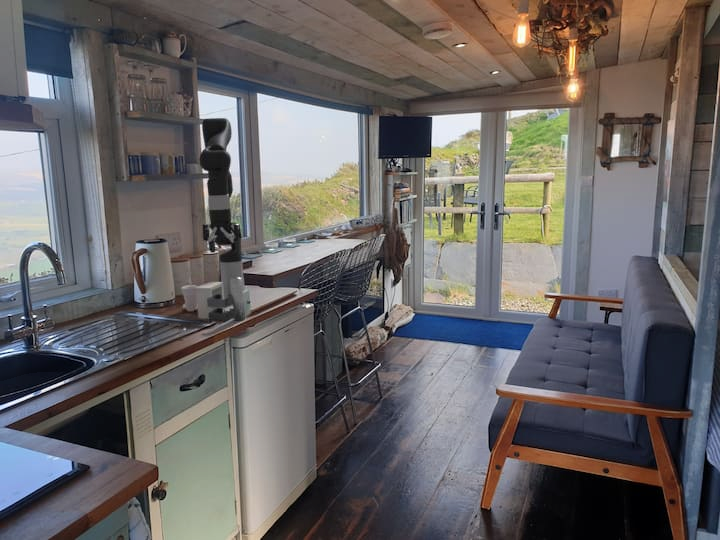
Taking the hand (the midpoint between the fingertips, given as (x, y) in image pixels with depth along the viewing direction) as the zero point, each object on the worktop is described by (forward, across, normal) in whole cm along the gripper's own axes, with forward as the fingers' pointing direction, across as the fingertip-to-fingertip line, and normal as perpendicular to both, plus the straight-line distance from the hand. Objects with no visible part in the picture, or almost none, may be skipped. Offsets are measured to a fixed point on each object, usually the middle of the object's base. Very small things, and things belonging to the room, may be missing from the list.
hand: (223, 252), depth 196 cm
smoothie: (+27, +23, -11) cm, 37 cm away
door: (+26, -3, -6) cm, 27 cm away
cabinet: (+26, +7, -5) cm, 28 cm away
